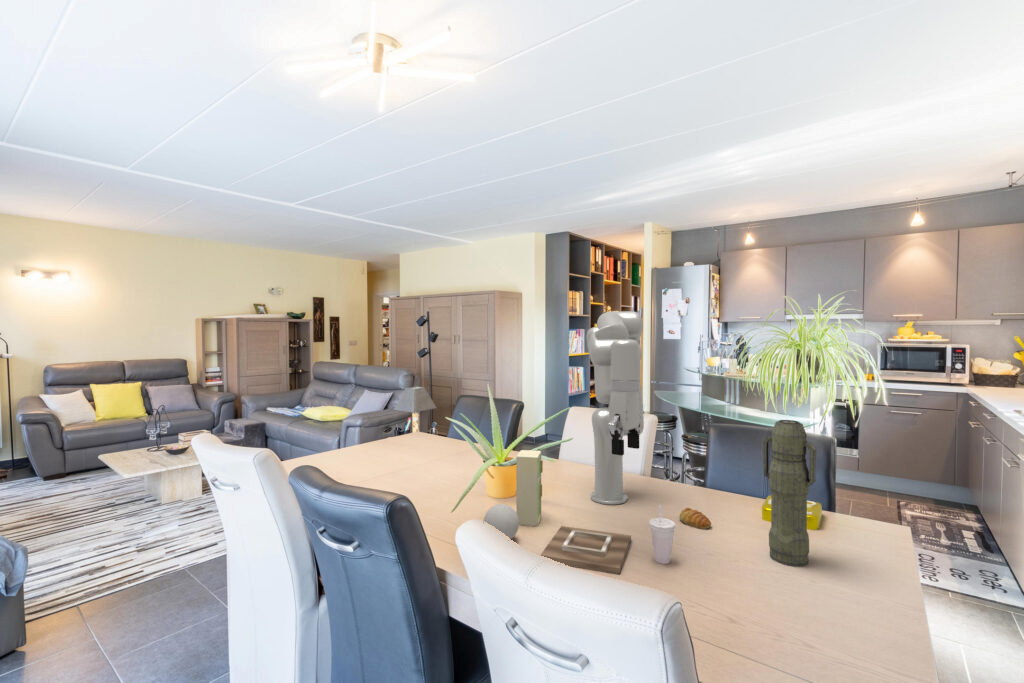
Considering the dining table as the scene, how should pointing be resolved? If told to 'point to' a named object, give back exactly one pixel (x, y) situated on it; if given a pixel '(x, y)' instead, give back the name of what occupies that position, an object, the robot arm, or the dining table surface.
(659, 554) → the smoothie
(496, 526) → the ball
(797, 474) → the thermos
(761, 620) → the dining table surface
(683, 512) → the pastry
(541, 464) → the toy refrigerator
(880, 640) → the dining table surface
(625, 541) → the walnut board
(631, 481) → the dining table surface
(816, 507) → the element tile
